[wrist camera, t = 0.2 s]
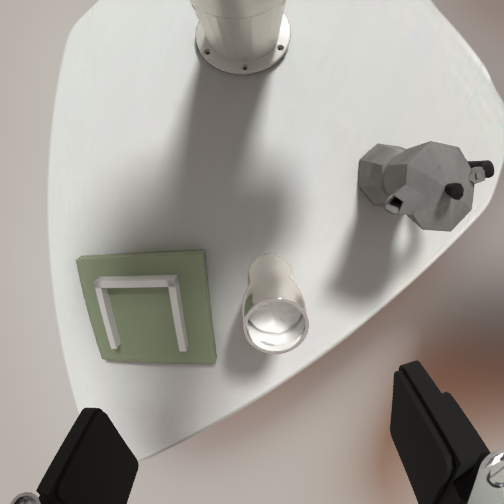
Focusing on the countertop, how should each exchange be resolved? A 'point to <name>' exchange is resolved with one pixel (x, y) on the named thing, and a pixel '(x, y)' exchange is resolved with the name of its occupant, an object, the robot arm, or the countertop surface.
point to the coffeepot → (422, 182)
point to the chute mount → (150, 306)
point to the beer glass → (273, 307)
